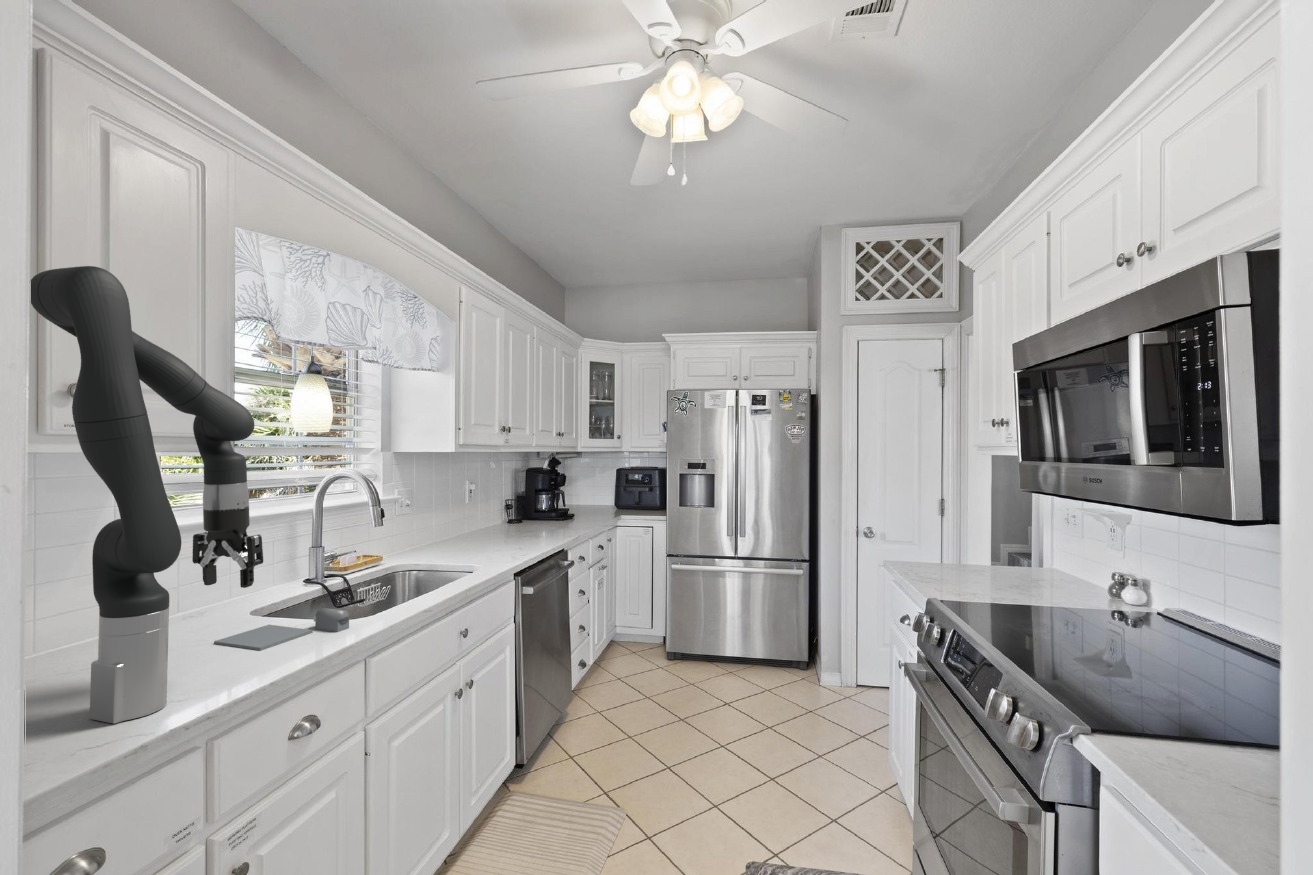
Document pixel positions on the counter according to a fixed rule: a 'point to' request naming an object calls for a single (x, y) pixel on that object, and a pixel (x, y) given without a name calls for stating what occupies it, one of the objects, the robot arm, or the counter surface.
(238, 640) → the slate mat
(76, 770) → the counter surface
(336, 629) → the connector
